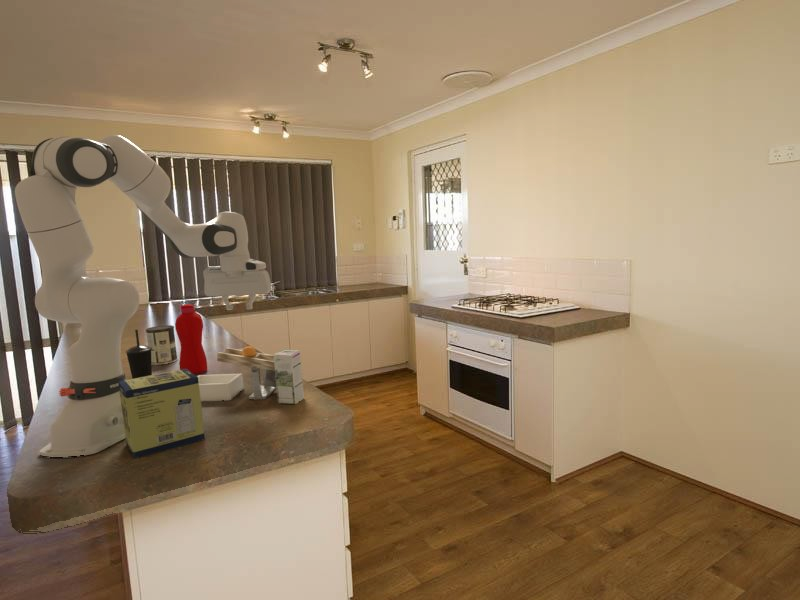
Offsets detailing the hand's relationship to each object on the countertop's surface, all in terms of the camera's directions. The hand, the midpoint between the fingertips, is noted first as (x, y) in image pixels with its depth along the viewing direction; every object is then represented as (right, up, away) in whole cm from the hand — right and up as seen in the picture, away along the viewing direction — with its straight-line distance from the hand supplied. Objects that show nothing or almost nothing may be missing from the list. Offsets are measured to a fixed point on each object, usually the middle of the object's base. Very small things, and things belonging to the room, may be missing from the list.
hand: (239, 309), depth 155 cm
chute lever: (+5, -21, -1) cm, 21 cm away
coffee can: (-45, -22, +45) cm, 68 cm away
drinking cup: (-33, -27, +6) cm, 43 cm away
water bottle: (-24, -24, +26) cm, 43 cm away
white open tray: (-7, -26, -3) cm, 27 cm away
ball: (+5, -13, -6) cm, 15 cm away
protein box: (-5, -31, -38) cm, 49 cm away
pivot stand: (+8, -26, -4) cm, 27 cm away
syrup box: (+19, -26, -13) cm, 35 cm away
